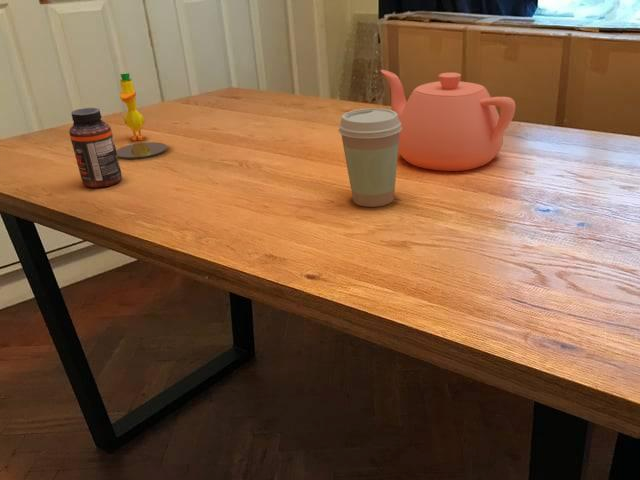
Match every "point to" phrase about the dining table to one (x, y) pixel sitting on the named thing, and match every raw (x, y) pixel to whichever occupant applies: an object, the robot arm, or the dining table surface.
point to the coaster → (141, 150)
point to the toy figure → (131, 107)
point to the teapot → (449, 123)
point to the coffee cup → (371, 154)
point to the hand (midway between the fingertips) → (9, 7)
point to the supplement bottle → (94, 149)
